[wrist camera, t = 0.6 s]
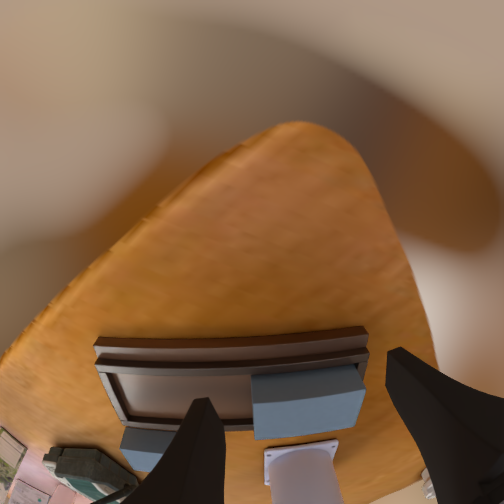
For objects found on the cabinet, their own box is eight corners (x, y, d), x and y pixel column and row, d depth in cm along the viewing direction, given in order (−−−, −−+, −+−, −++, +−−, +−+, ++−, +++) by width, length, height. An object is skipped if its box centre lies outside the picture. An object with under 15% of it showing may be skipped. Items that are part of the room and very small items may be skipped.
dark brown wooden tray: (344, 409, 24) (350, 424, 22) (131, 418, 23) (126, 433, 22) (363, 325, 21) (373, 340, 19) (98, 336, 20) (89, 351, 18)
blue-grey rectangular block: (344, 401, 22) (354, 426, 19) (252, 412, 22) (254, 440, 19) (353, 363, 21) (366, 388, 18) (250, 374, 20) (252, 403, 18)
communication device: (141, 511, 34) (136, 548, 25) (47, 441, 26) (27, 487, 17) (199, 512, 33) (198, 554, 25) (106, 443, 25) (88, 503, 17)
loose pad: (208, 454, 26) (207, 476, 23) (138, 449, 25) (133, 470, 23) (201, 432, 24) (199, 456, 21) (125, 426, 24) (118, 448, 21)
